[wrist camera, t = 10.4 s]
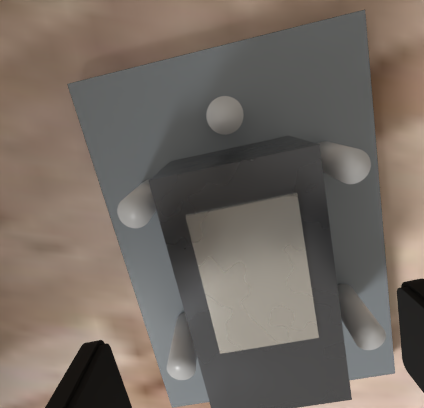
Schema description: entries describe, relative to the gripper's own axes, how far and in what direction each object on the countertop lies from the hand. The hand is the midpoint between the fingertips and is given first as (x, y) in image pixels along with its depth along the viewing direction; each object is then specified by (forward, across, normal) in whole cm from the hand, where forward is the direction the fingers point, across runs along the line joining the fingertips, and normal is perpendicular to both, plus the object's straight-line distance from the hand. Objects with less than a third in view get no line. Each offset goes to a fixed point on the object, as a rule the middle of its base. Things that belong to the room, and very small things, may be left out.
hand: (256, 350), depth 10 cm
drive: (+7, -1, 0) cm, 7 cm away
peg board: (+9, -1, 0) cm, 9 cm away
